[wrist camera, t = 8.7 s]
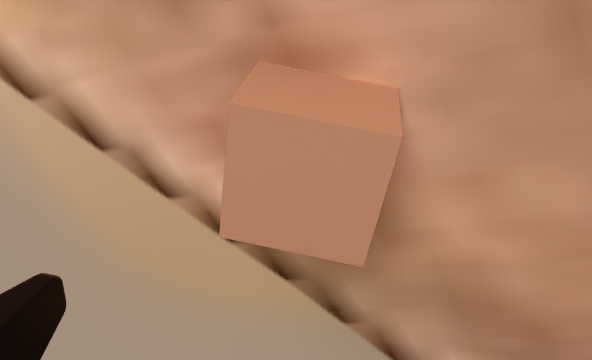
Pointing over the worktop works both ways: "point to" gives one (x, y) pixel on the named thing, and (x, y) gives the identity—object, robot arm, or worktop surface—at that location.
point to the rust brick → (308, 162)
